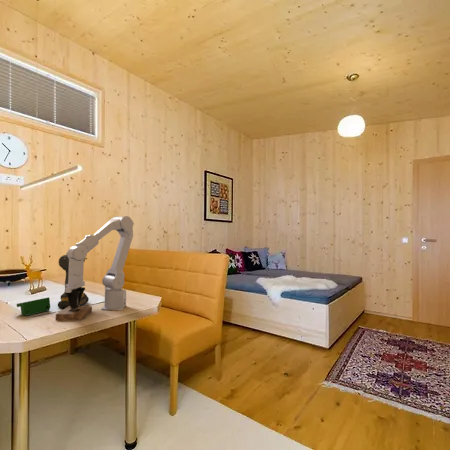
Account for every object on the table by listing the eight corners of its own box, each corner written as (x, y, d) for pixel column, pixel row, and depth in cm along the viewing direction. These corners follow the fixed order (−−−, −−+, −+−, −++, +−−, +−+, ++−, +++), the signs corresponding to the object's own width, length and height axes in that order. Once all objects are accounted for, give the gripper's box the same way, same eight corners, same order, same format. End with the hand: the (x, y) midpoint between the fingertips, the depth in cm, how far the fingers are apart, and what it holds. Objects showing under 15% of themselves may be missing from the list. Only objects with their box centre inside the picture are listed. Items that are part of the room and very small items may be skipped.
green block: (39, 319, 133) (45, 299, 137) (47, 318, 131) (52, 298, 135) (11, 315, 124) (18, 293, 128) (19, 314, 121) (26, 292, 126)
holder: (91, 311, 133) (92, 306, 133) (80, 320, 121) (81, 314, 121) (68, 311, 132) (69, 306, 132) (55, 320, 120) (55, 314, 120)
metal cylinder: (79, 312, 128) (79, 294, 128) (75, 314, 125) (76, 296, 125) (72, 311, 128) (73, 294, 128) (69, 313, 125) (69, 296, 125)
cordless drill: (96, 299, 154) (97, 252, 154) (72, 310, 134) (74, 255, 134) (80, 298, 155) (81, 251, 155) (54, 309, 135) (56, 254, 135)
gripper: (73, 271, 133) (72, 301, 133) (58, 276, 119) (56, 310, 119) (89, 271, 134) (88, 301, 134) (76, 277, 119) (74, 310, 119)
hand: (74, 305), depth 126 cm, fingers closed on metal cylinder, 3 cm apart
